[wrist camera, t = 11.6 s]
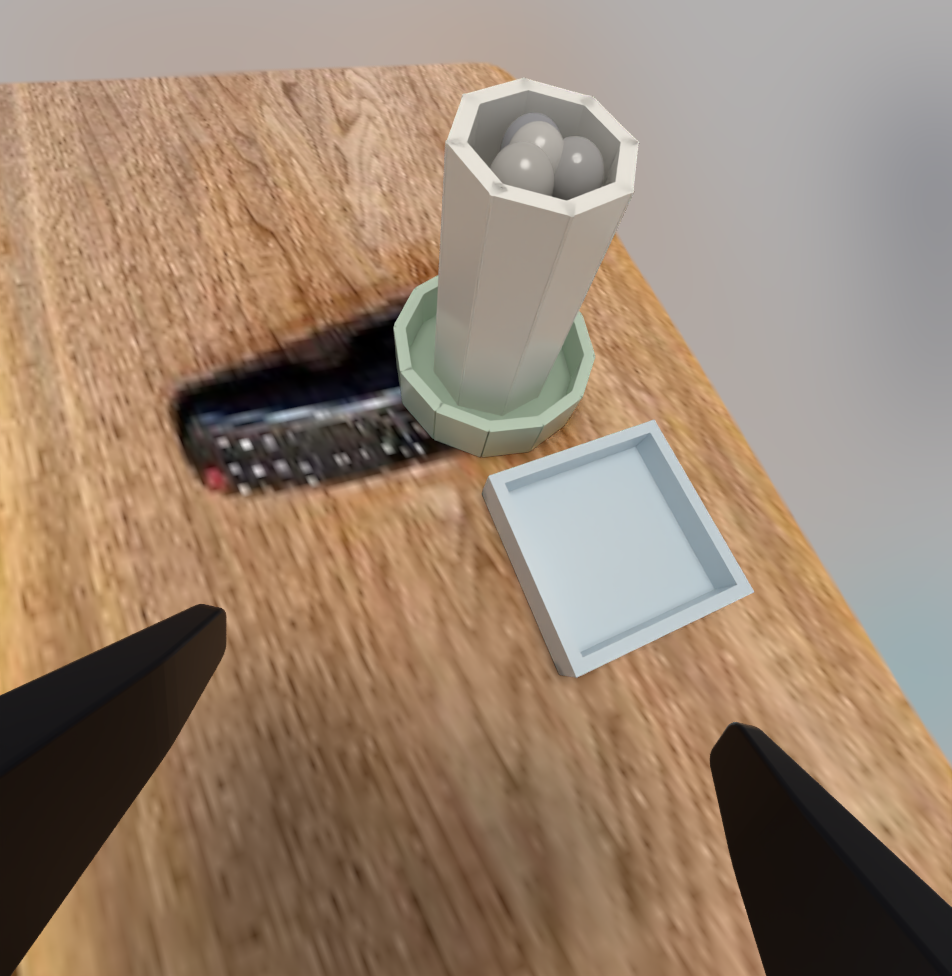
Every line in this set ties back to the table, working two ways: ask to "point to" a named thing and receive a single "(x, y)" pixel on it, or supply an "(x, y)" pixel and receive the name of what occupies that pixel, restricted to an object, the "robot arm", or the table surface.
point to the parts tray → (611, 546)
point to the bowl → (474, 426)
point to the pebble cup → (522, 234)
